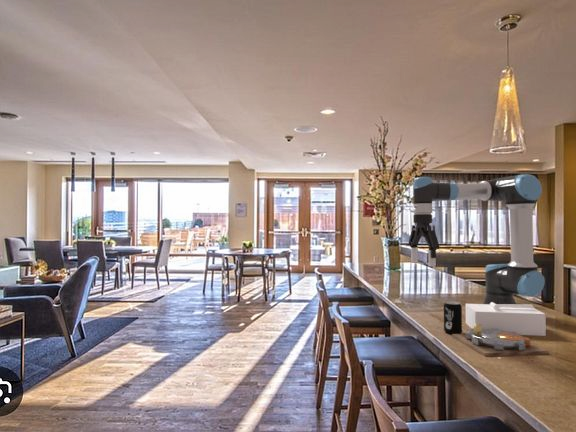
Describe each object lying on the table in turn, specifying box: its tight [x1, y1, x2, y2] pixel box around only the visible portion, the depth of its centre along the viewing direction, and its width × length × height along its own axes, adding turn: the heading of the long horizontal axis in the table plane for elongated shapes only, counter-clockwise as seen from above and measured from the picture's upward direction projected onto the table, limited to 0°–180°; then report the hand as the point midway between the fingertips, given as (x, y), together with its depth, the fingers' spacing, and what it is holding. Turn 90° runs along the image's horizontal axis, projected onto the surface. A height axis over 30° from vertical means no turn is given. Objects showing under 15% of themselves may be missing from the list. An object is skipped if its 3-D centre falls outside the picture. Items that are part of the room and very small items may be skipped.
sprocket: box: [465, 324, 531, 350], centre depth 135 cm, size 20×20×6 cm
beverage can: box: [443, 300, 463, 335], centre depth 150 cm, size 7×7×12 cm
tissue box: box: [465, 302, 547, 337], centre depth 155 cm, size 14×25×11 cm, turn 79°
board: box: [451, 333, 549, 357], centre depth 135 cm, size 22×21×1 cm
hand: (423, 264), depth 160 cm, fingers open, 13 cm apart
